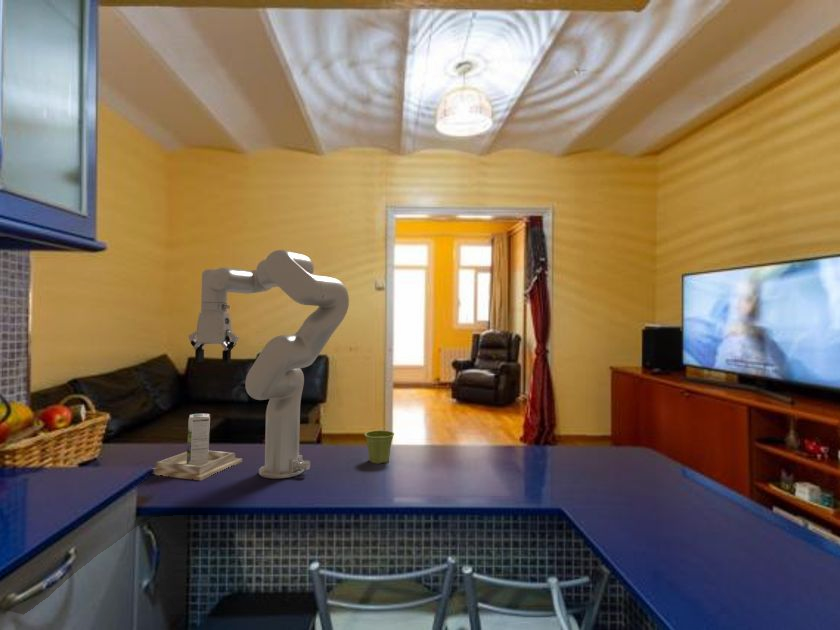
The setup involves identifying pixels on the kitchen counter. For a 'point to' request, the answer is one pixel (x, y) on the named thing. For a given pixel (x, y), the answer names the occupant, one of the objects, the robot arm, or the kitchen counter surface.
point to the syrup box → (198, 439)
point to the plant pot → (379, 445)
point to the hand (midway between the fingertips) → (212, 362)
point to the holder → (180, 469)
